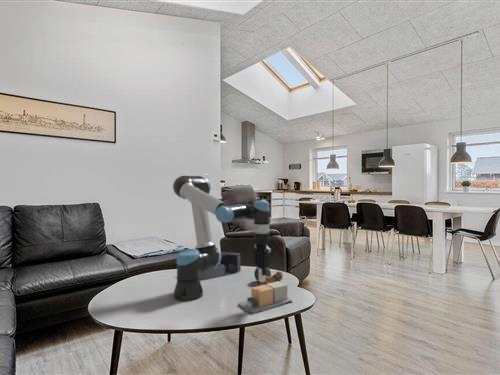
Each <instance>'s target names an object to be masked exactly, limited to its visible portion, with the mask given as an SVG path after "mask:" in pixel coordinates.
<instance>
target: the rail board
mask: <svg viewBox="0 0 500 375" xmlns="http://www.w3.org/2000/svg"><path fill="white" fill-rule="evenodd" d="M266 286H269V287H271V288H273V303H272V304H268V305H265V306H261V307H259V306H258V301H257V300H255V299H254V298H252V297H251V296H249V297H247V298H246V299H247V300H245V301H241V302H238V304H237V305H238V306H239V307H240V308H242V309H243V310H245V311H247V312H248V313H249V314H251V315H253V314H257V313H261V312H264V311H266V310H269V309H274V308H276V307H277V308H278V307H280V305H281V306H283V304H284V305H287V304H290V303H289V302H291V303H293V299H291V298H289V297H288V284H286V283H284V282H281V281H280V282H279V281H277V282H273V283H266ZM286 303H287V304H286Z"/></svg>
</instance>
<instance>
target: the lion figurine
mask: <svg viewBox="0 0 500 375" xmlns="http://www.w3.org/2000/svg"><path fill="white" fill-rule="evenodd" d="M283 276H284V274H283V272H282V271H280V270H279V271H276V272H275V274H273V275H271V277H268V276H266V281H264V282H259V285H258V286H261V285H266V284H269V283H273V282H277V281H279V282H281V281H282V280H283Z"/></svg>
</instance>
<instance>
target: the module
mask: <svg viewBox="0 0 500 375" xmlns="http://www.w3.org/2000/svg"><path fill="white" fill-rule="evenodd" d="M250 292H251V295H250V297H252V298H254V299H255V300H257V301H258V306H259V307H261V306H265V305H268V304H272V303H273V288H271V287H269V286H266V285H264V284H262V285H261V286H259V285H257V286H253V287H251V291H250Z"/></svg>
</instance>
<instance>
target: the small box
mask: <svg viewBox="0 0 500 375" xmlns="http://www.w3.org/2000/svg"><path fill="white" fill-rule="evenodd" d="M219 264H221V265H224V266H225V273H234V272H238V273H240V271H241V268H242V267H241V265H242V263H241V252H224V251H223V252H221V262H220V263H219Z"/></svg>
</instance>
